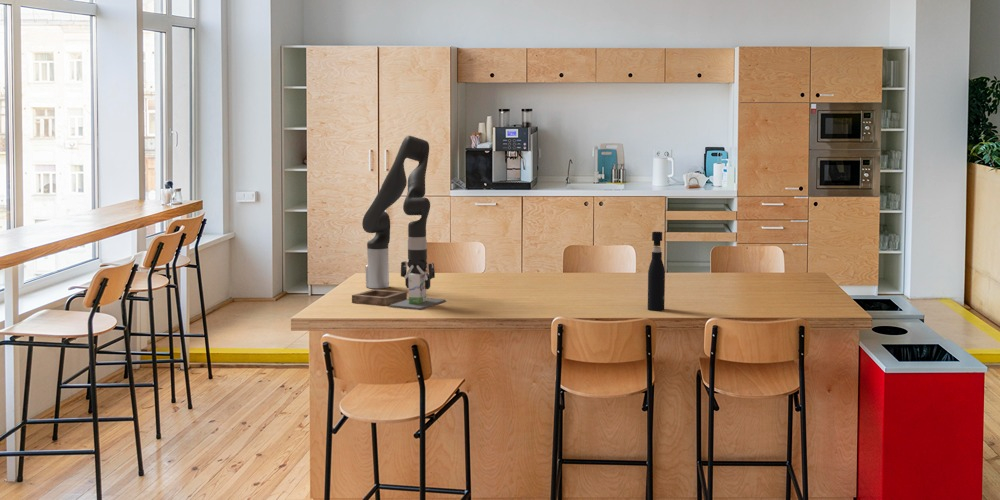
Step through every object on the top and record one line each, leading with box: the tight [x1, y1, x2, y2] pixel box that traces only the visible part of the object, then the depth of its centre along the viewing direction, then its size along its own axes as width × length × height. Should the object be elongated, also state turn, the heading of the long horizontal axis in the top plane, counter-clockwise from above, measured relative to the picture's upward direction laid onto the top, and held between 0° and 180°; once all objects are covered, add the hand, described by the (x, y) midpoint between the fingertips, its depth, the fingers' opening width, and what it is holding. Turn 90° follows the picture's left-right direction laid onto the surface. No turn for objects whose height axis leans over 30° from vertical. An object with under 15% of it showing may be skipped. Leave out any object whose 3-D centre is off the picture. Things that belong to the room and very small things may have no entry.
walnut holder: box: [351, 288, 408, 306], centre depth 421 cm, size 16×16×3 cm
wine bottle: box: [647, 231, 666, 312], centre depth 399 cm, size 6×6×30 cm
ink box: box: [408, 273, 427, 304], centre depth 413 cm, size 8×5×12 cm, turn 166°
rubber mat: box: [389, 297, 447, 311], centre depth 414 cm, size 14×20×1 cm
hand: (417, 288), depth 413 cm, fingers open, 8 cm apart
